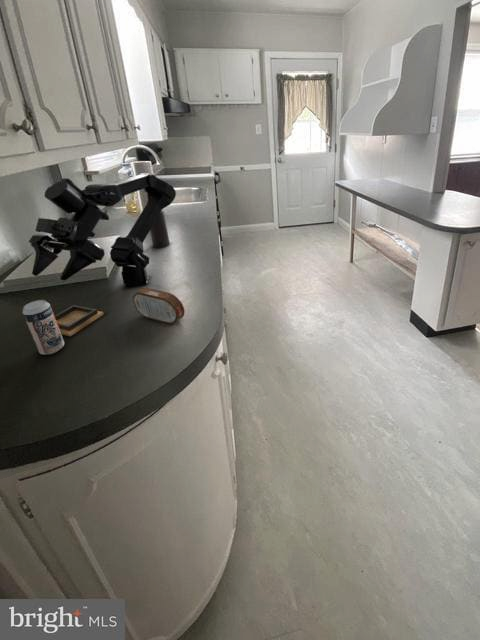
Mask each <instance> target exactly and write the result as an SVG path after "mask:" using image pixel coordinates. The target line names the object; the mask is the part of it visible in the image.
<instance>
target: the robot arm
mask: <svg viewBox="0 0 480 640" xmlns="http://www.w3.org/2000/svg"><path fill="white" fill-rule="evenodd" d="M141 190H143V191H144V192H145V193H146V194H147V195H146V198H147V199H146V200H148V203H147V202H146V204H145V206H144V208H143V209H142V211H141V213H140V214H139V216H138V218H137V219H136V221H135V222H134V224H133V225H132V228H131V229H130V230H129V232H128V234H127V235H126V236H124V237H123V236H118V237H117V238H115V241H114V242H113V244H112V245H111V246H110V248H111V249H110V251H109V255H110V259H111V261H112V262H113V263H114V264H115V265H116V266H117V267H119V268H120V267H121V272H120V274H121V278H122V282H123V284H124V288H126V289H128V288H134V287H140V286H147V284H148V282H149V277H150V276H149V275H148V272H147V266H149V264H150V257H149V256H148V255H145V253H144V251H145V250H144V242H145V240H146V238H147V236H148V235H149V233H150V229H151V228H152V226H153V224H154V222H155V221H156V219H157V217H158V215H159V214H160V212H161V210H162V209H163V210H164V209H165V208H167V207H168V206H170V205H171V204H172V203H173V201H175V199H176V196H177V192H176V189H175V188H174V186H173V185H171V184H169V183H168V182H166V181H164V180H162V179H161V178H158V177H157V176H156V175H155V174H154V173H138V174H137V175H133V176H131V177H128V178H125V179H122V180H121V179H120V180H119V181H115V182H112V183H94V184H88V185H87V186H85V187H84V189H81V188H79V187H78V186H77V185H76V184H75V183H74V182H73V181H72V180H71V179H70V178H65V177H64V178H61V179H60V181H57V182H55V183H53V184H52V185H51V186H48V187H47V188H46V190H45V192H44V198H45V199H46V200H48V201H49V202H50V203H52V204H53V205H55V206H56V207H57V208H59V209H60V210H61V211H63V212H64V213H65V214H72V213H73V214H72V215H71V217H70V218H68V217H59V218H58V219H52V218H45V217H38V218H37V222H36V226H35V230H34V231H35V232H38V234H33V235H32V236H31V237H30V239H28V243H29V244H30V246H31V248H33V250H34V251H35V252H34V253H35V256H34V262H33V266H32V271H31V274H32V275H33V276H36V277H37V276H38V275H40V274H41V273H42V272H44V271H45V269H47V268H48V267H49V266H50V265H52V263H53V262H55V260H56V259H58V258H59V254H60V253H62V252H63V251H69V259H68V261H67V263H66V265H65V267H64V268H63V271H62V273H61V275H60V278H59V279H60V280H61V281H63V282H64V281H66V280H68V279H70V278H71V277H73V276H74V275H76V274H77V273H78V272H80V271H81V270H83V269H85V268H87V267H89V266H90V265H92V264H96V263H97V261H100V262H101V261H102V260H103V258H104V257H105V249H104V248H102V247H101V246H100V245H98V244H97V243H96V242H95V241H93V240H90V239H89V238H95V236H96V233H95V232H94V230H95V228H96V226H97V225H98V224H99V222H100V220H102V221H109V220H110V217H109V214H108V210H107V209H101V208H100V207H113V206H114V205H116V204H118V203H120V202H121V201H122V198H124V197H125V196H128V195H130V194H133V193H136V192H138V191H141ZM41 232H42V233H46V234H39V233H41ZM47 234H50V235H47Z"/></svg>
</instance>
